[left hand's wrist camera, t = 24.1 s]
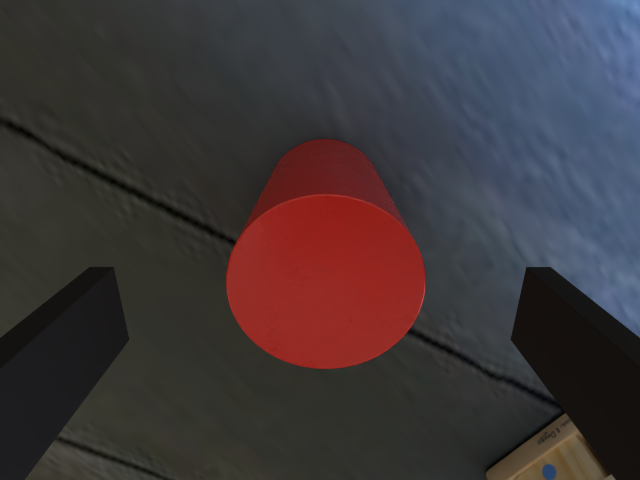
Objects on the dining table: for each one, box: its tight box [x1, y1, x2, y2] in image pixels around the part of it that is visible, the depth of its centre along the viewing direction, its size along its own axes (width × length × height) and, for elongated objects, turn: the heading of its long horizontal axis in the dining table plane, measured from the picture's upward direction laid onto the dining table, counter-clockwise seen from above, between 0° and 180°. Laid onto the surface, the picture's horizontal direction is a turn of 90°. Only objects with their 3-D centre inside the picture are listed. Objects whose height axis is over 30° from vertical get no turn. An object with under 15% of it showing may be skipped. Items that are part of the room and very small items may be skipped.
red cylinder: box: [226, 139, 426, 369], centre depth 17 cm, size 6×6×10 cm
